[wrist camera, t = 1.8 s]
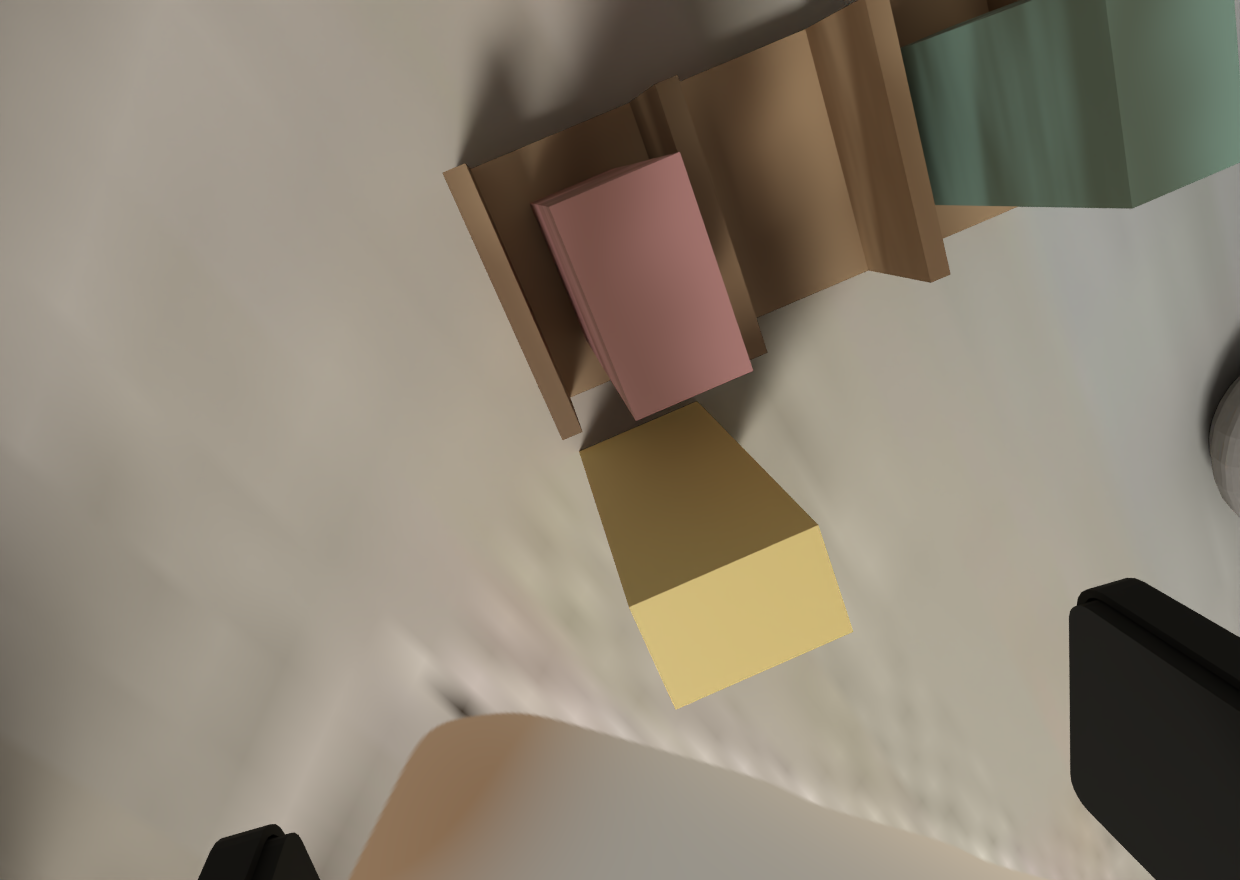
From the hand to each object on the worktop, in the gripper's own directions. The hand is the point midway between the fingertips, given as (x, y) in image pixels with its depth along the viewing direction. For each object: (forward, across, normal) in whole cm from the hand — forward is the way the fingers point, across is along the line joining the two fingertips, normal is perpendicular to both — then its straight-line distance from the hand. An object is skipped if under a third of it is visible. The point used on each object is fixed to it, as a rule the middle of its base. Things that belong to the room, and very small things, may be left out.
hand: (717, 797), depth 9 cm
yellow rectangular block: (+26, -3, +6) cm, 27 cm away
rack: (+26, -10, -5) cm, 28 cm away
